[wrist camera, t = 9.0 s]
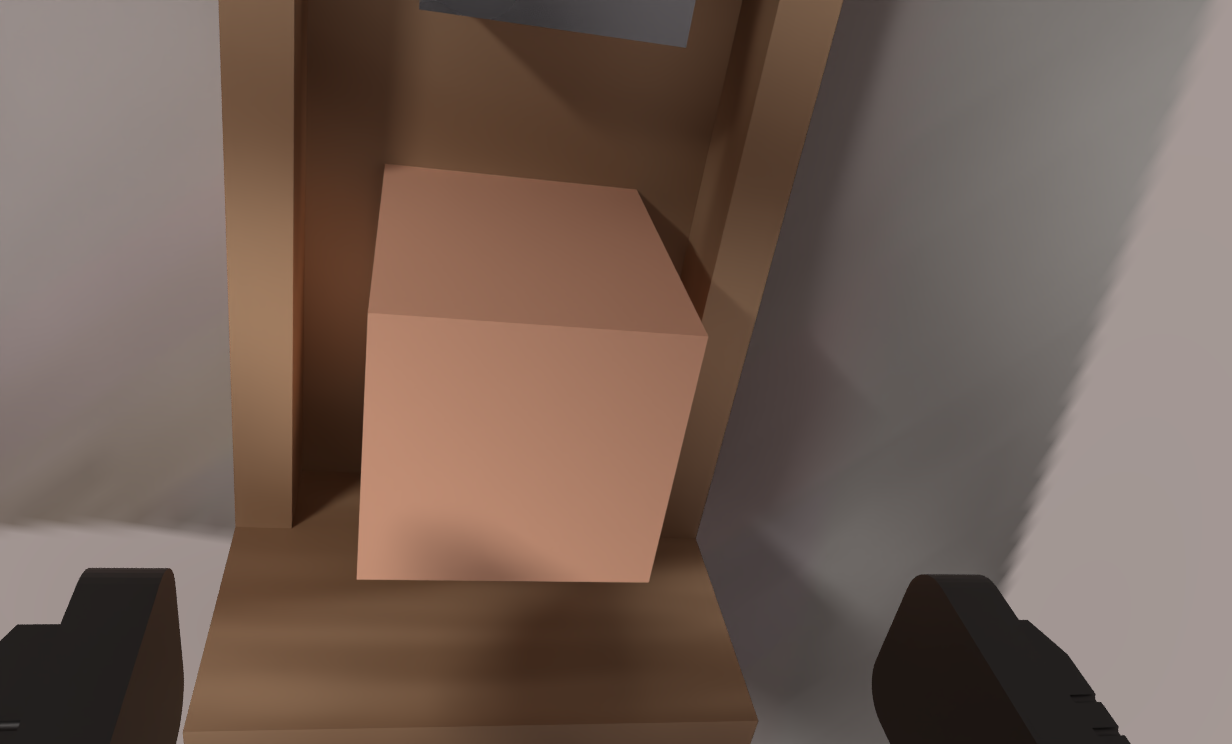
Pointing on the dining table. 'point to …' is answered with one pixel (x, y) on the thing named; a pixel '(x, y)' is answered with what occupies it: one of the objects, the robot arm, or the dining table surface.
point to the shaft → (585, 16)
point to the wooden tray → (336, 360)
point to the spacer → (520, 381)
